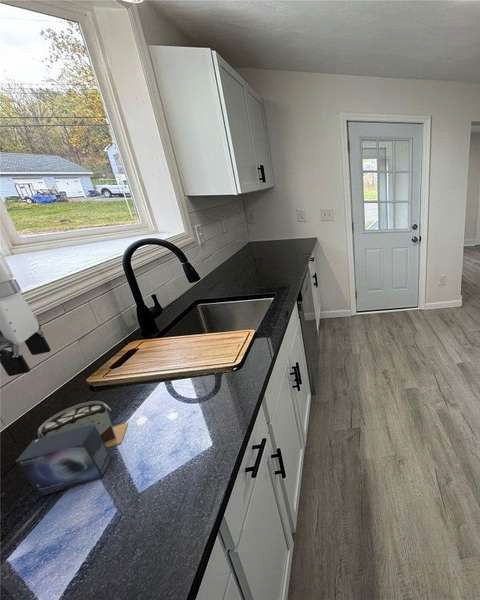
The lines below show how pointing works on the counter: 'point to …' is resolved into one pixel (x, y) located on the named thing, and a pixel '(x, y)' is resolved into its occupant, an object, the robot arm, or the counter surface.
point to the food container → (80, 420)
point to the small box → (65, 459)
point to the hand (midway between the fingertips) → (31, 362)
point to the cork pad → (117, 435)
